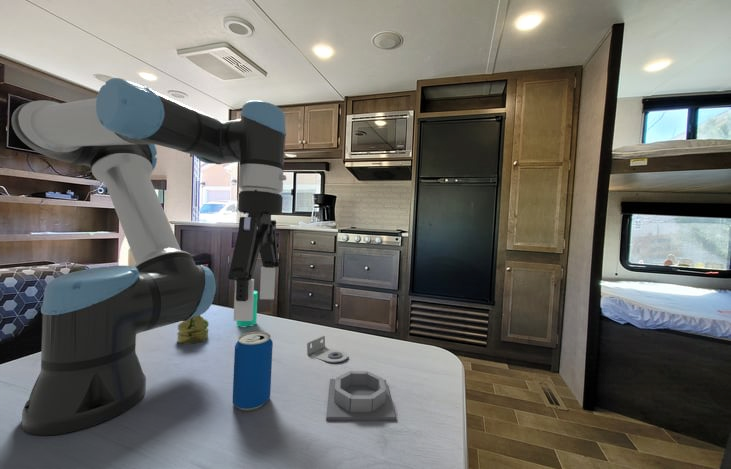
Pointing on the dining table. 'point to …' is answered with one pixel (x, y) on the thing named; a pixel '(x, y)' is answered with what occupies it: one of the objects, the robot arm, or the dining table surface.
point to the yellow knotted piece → (193, 330)
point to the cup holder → (359, 397)
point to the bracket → (328, 355)
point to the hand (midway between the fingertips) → (256, 308)
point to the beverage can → (252, 370)
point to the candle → (249, 323)
